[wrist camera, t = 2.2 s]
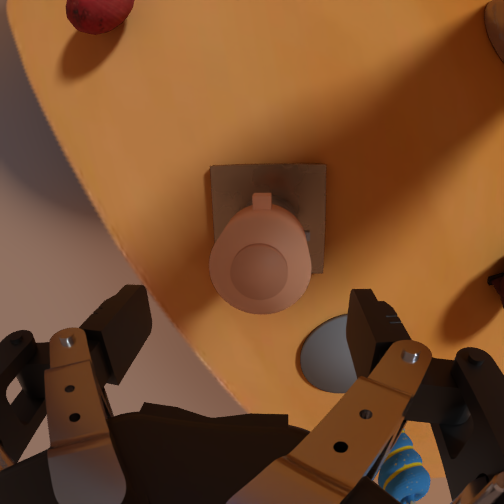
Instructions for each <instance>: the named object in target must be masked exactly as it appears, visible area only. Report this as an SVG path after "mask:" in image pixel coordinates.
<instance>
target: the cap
mask: <svg viewBox="0 0 504 504" xmlns="http://www.w3.org/2000/svg"><path fill="white" fill-rule="evenodd" d="M252 203H253V205H251V206H248V207H245V208H244V209H242V210H240V211H239V212H237V213H236V214H235V215H234V216H233V217H232V218H231V220H230V221H229V223H228V224H227V226H226V227H225V229H224V230H223V232H222V233H221V235H220V236H219V238H218V239H217V241H216V242H215V244H214V246H213V248H212V251H211V254H210V259H209V272H210V277H211V280H212V283H213V285H214V287H215V289H216V290H217V292H218V293H219V295H220V296H221V297H222V298H223V299H224V300H225V301H226V302H228V303H229V304H230V305H232V306H233V307H235V308H237V309H239V310H241V311H244V312H247V313H252V314H271V313H276V312H279V311H282V310H284V309H286V308H288V307H290V306H291V305H293V304H294V303H295V302H296V301H297V300H298V299H299V298H300V297H301V296H302V295H303V293H304V292H305V290H306V288H307V286H308V284H309V281H310V277H311V259H310V254H309V249H308V245H307V240H306V235H305V232H304V229H303V227H302V225H301V223H300V222H299V220H298V219H297V218H296V217H295V216H294V215H293V214H292V213H291V212H289V211H288V210H286V209H285V208H282V207H280V206H277V205H274V204H272V194H271V193H254V194H253V196H252Z"/></svg>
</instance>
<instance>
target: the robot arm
mask: <svg viewBox="0 0 504 504" xmlns="http://www.w3.org/2000/svg"><path fill="white" fill-rule="evenodd" d="M484 18H485V25H486V29H487V33H488V35H489V38H490V40H491V43H492V45H493V46H494V48H495V50H496V52H497V53H498V55H499V56H500V58H501V59H502V60H503V62H504V0H492V1H490V2H489V3H488V4H487V6H486V9H485V16H484ZM151 329H152V318H151V313H150V307H149V302H148V296H147V291H146V288H145V286H143V285H125V286H124V287H123V288H122V289H121V290H120V291H119V292H118V293H117V294H116V295H115V296H113V297H111V298H109V299H107V300H106V301H104V302H103V303H102V304H101V305H100V306H99V308H98V309H96V310H95V311H94V313H93V314H91V315H90V316H89V318H88V319H87V320H86V321H85V322H84V323H83V324H82V325H81V326H80V327H79V328H67V329H63V330H60V331H58V332H57V333H55V334H54V335H53V336H52V337H51V339H50V342H45V343H36V342H35V339H34V337H33V334H32V333H31V332H30V331H27V330H20V331H16V332H13V333H11V334H9V335H8V336H6V337H5V338H4V339H3V340H2V341H1V342H0V504H402V503H400V502H399V501H398V500H397V499H395V498H394V497H393V496H391V495H390V494H389V493H388V492H386V491H385V490H384V489H382V488H381V487H380V486H379V485H377V484H376V483H375V482H374V481H373V480H374V478H375V476H376V475H377V473H378V472H379V470H380V468H381V466H382V465H383V463H384V461H385V459H386V458H387V456H388V455H389V453H390V451H391V450H392V448H393V446H394V445H395V443H396V441H397V439H398V438H399V436H400V434H401V432H402V431H403V429H404V427H405V425H406V423H407V421H408V420H409V421H417V422H426V423H430V424H431V427H432V430H433V433H434V437H435V440H436V443H437V446H438V450H439V453H440V456H441V460H442V463H443V467H444V471H445V474H446V478H447V482H448V486H449V489H450V493H451V498H452V502H451V503H450V504H504V375H503V373H502V372H501V370H500V369H499V367H498V366H497V364H496V363H495V361H494V360H493V358H492V357H491V356H490V355H489V354H488V353H487V352H485V351H483V350H481V349H478V348H473V347H467V348H463V349H461V350H459V351H458V352H457V354H456V357H455V360H446V359H437V358H433V357H432V353H431V351H430V349H429V348H428V347H427V346H425V345H424V344H422V343H420V342H417V341H413V340H411V338H410V336H409V334H408V333H407V331H406V329H405V327H404V326H403V324H402V323H401V320H400V319H399V317H397V314H396V312H395V310H394V309H393V307H391V306H390V305H389V304H387V303H386V302H384V301H378V300H377V299H376V297H375V295H374V293H373V291H372V290H371V289H352V290H351V293H350V300H349V308H348V316H347V323H346V339H347V343H348V347H349V350H350V354H351V358H352V361H353V365H354V369H355V372H356V376H357V380H356V381H355V382H354V384H353V385H352V386H351V387H350V388H349V390H348V391H347V392H346V393H345V394H344V396H343V397H342V398H341V399H340V400H339V401H338V402H337V404H336V405H335V406H334V407H333V408H332V409H331V410H330V412H329V413H328V414H327V415H326V416H325V417H324V418H323V419H322V420H321V421H320V423H319V424H318V425H317V426H316V427H315V428H314V429H313V430H312V431H311V432H310V431H308V430H305V429H302V428H299V427H296V426H291V425H288V414H243V415H236V416H227V417H217V418H210V417H206V416H202V415H199V414H196V413H193V412H190V411H187V410H184V409H181V408H178V407H173V406H165V405H159V404H152V403H146V402H144V404H143V406H142V408H141V410H140V412H131V413H125V414H120V415H117V416H114V415H113V412H112V409H111V406H110V403H109V400H108V397H107V394H106V391H105V388H104V386H105V384H106V383H109V384H114V385H119V384H120V382H121V380H122V379H123V377H124V375H125V374H126V372H127V370H128V369H129V367H130V366H131V364H132V362H133V361H134V359H135V357H136V356H137V354H138V353H139V351H140V349H141V348H142V346H143V345H144V343H145V341H146V340H147V338H148V336H149V335H150V333H151ZM15 377H17V379H18V381H19V383H20V385H21V387H22V390H21V392H20V393H19V394H18V396H17V397H16V398H15V400H14V401H13V402H12V404H11V405H10V404H9V402H8V400H7V398H6V390H7V387H8V386H9V384H10V383H11V382H12V381H13V379H14V378H15ZM46 414H47V420H48V429H49V437H50V448H49V449H47V450H45V451H43V452H41V453H38V454H36V455H34V456H32V457H30V458H28V459H25V460H23V461H21V462H19V463H17V462H18V460H19V459H20V457H21V455H22V454H23V452H24V450H25V449H26V447H27V445H28V444H29V442H30V440H31V439H32V437H33V435H34V434H35V432H36V430H37V429H38V427H39V426H40V424H41V422H42V421H43V419H44V418H45V416H46Z"/></svg>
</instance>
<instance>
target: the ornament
mask: <svg viewBox="0 0 504 504" xmlns="http://www.w3.org/2000/svg"><path fill="white" fill-rule="evenodd" d="M378 484H379V486H380V487H381V488H382V489H384V490H385V491H386V492H388V493H389V494H390V495H391V496H393V497H394V498H395V499H397V500H398V501H399V502H400V503H402V504H416V503H415V502H416V501H418V500H419V499H421V498H422V497H424V496H425V494H426V493H427V492H428V490H429V486H430V476H429V473H428V472H427V471H426V470H425V468H424V467H423V466H422V459H421V457H420V455H419V454H418V453H417V452H416V451H415V450H414V449H413V443H412V441H411V439H410V438H409V437H408V436H407V435H406V434H405V430H404V429H403V431H402V432H401V434H400V436H399V438H398V439H397V441H396V443H395V445H394V446H393V448H392V450H391V451H390V453H389V455H388V456H387V458H386V459H385V461H384V463H383V465H382V466H381V468H380V472H379V477H378Z"/></svg>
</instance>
